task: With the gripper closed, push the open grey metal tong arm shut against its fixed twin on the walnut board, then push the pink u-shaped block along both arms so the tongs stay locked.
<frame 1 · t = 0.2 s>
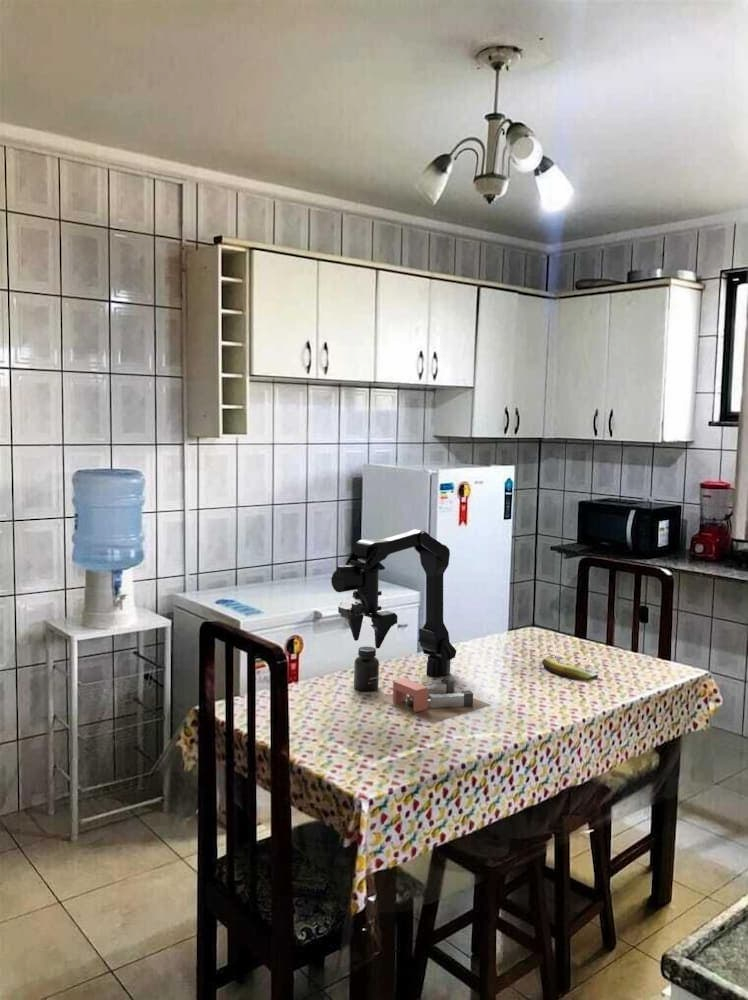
hand: (366, 644, 224), 15 cm above the table, tool pointing down, fingers open, 9 cm apart
supplement bottle: (366, 691, 230), on the table
pink u-shaped block: (410, 694, 216), point 4 cm above the table, slide at 0.0 cm
green-yellow banana: (566, 676, 249), on the table
board: (433, 704, 221), on the table
tongs fixed: (412, 705, 217), resting on board
tongs jaw: (443, 699, 217), point 3 cm above the table, hinge at -30.0°
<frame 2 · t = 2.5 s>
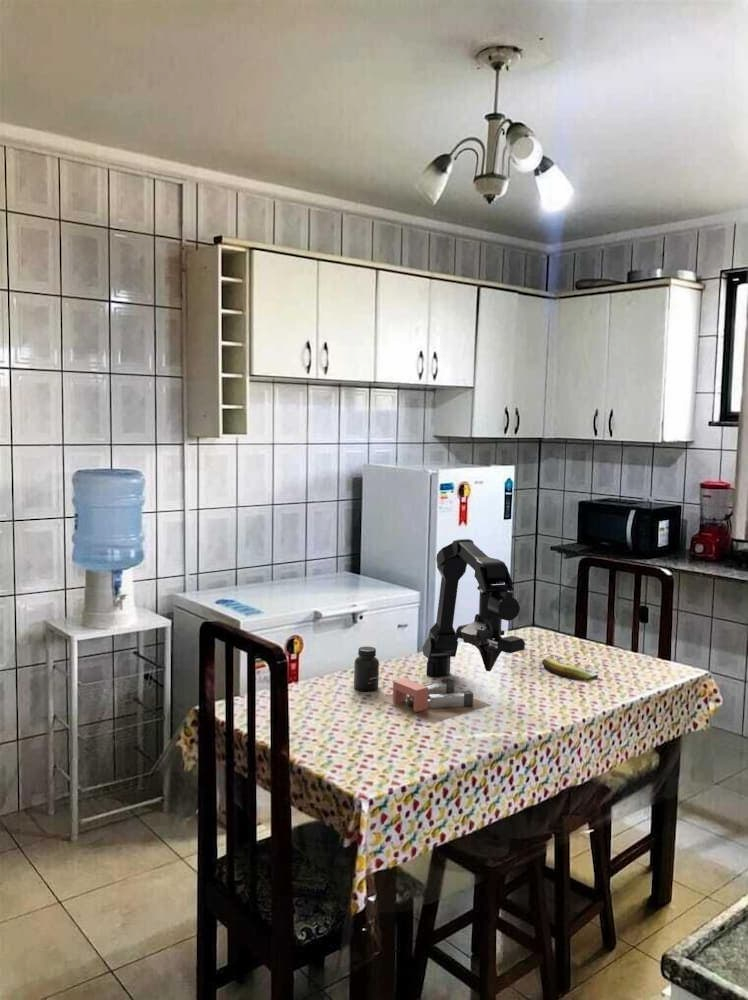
hand: (488, 670, 212), 12 cm above the table, tool pointing down, fingers closed
nothing on the table moved.
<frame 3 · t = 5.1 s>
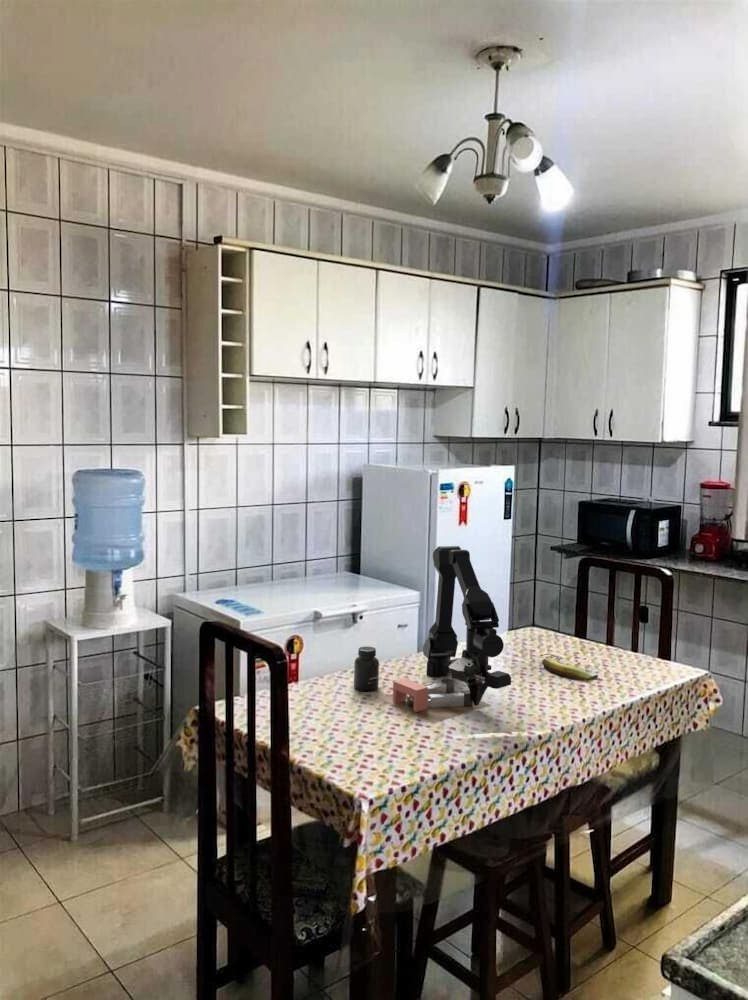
hand: (476, 705, 216), 2 cm above the table, tool pointing down, fingers closed
tongs jaw: (443, 699, 217), point 3 cm above the table, hinge at -29.3°, touching gripper
everything else where it was.
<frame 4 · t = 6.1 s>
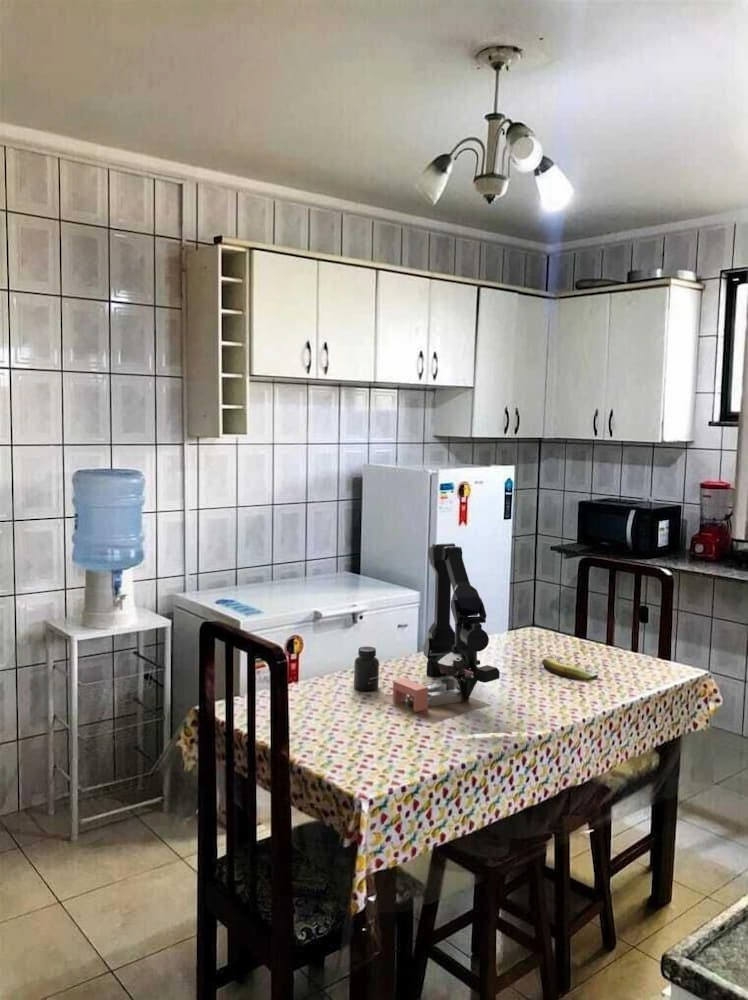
hand: (466, 699, 219), 2 cm above the table, tool pointing down, fingers closed
tongs jaw: (441, 696, 219), point 3 cm above the table, hinge at -15.0°, touching gripper
everything else where it was.
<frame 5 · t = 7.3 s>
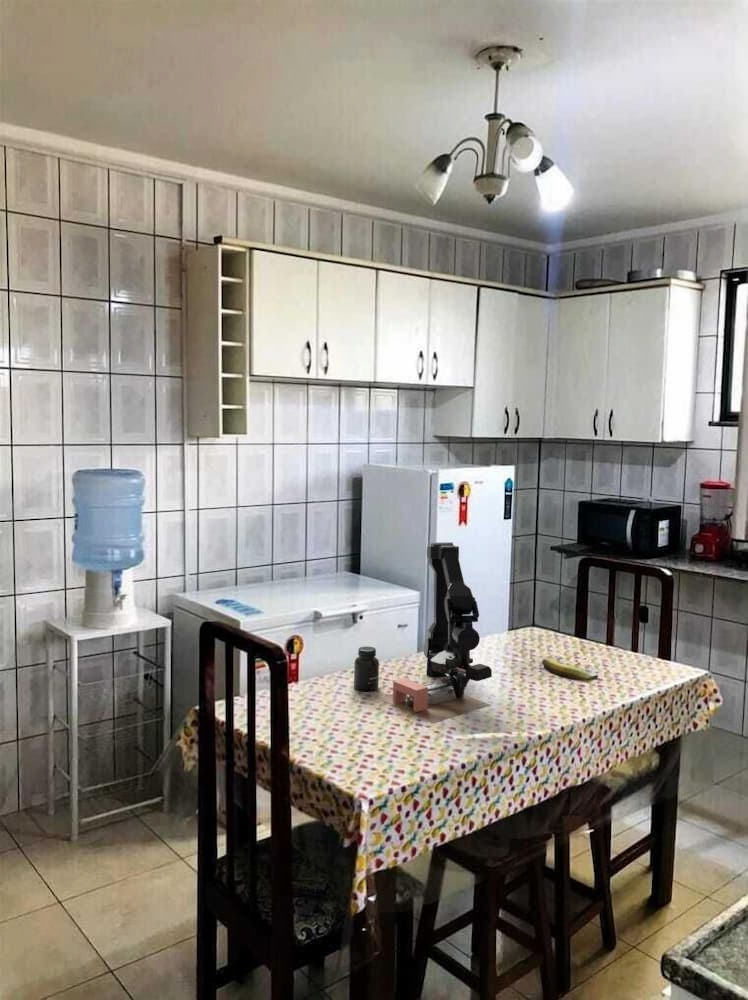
hand: (458, 697, 221), 2 cm above the table, tool pointing down, fingers closed
tongs jaw: (439, 694, 220), point 3 cm above the table, hinge at -3.3°, touching gripper
everything else where it was.
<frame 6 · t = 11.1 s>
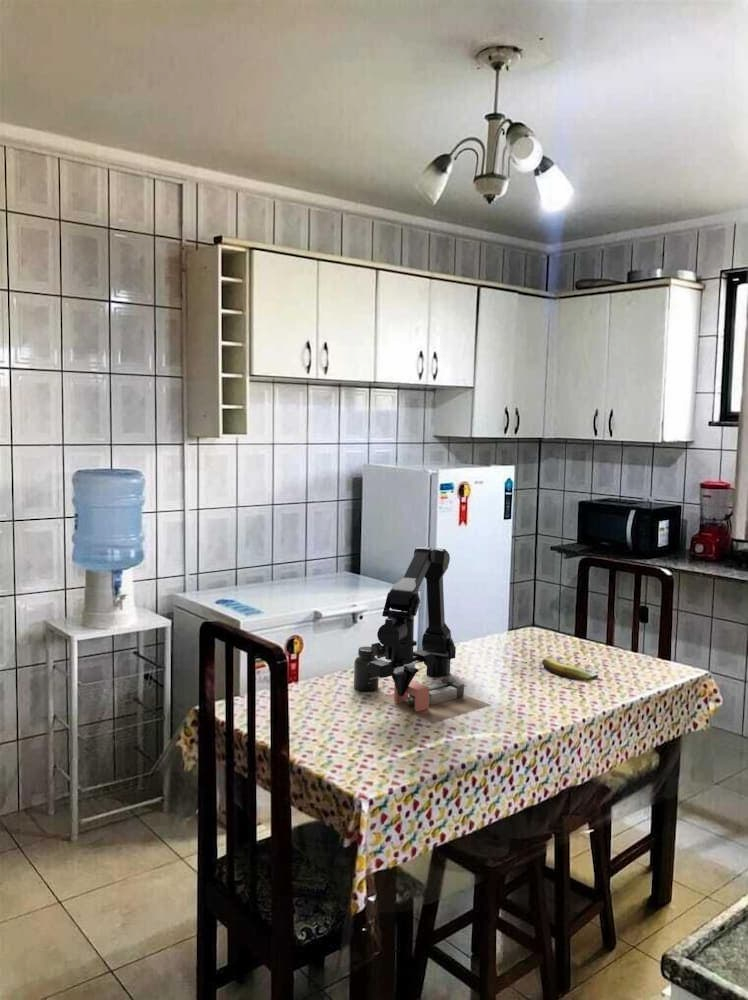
hand: (401, 695, 214), 4 cm above the table, tool pointing down, fingers closed
pink u-shaped block: (411, 694, 217), point 4 cm above the table, slide at 0.5 cm, touching gripper
tongs jaw: (439, 694, 220), point 3 cm above the table, hinge at -3.0°
everything else where it was.
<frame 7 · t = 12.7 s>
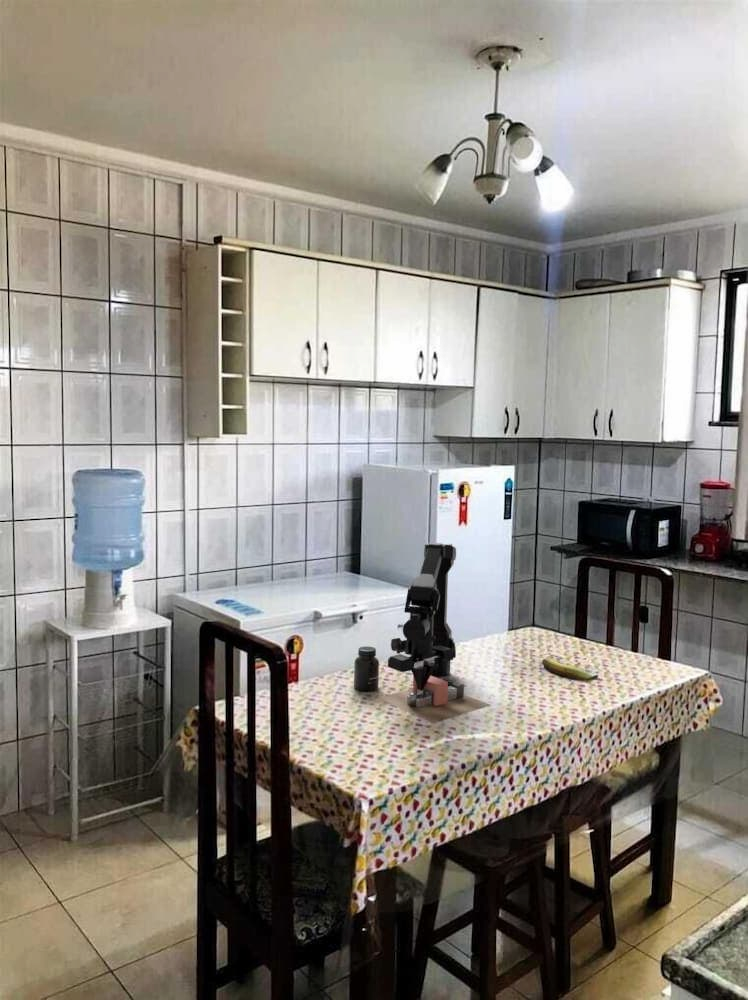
hand: (420, 689, 219), 4 cm above the table, tool pointing down, fingers closed
pink u-shaped block: (430, 689, 221), point 4 cm above the table, slide at 7.1 cm, touching gripper
everything else where it was.
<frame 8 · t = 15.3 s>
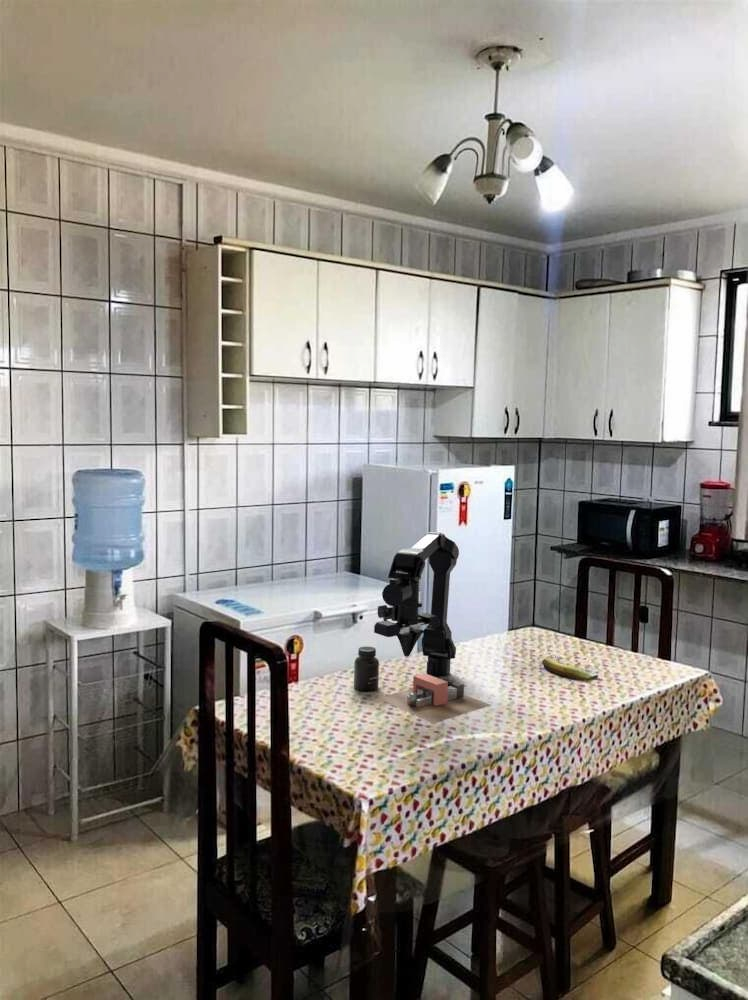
hand: (406, 656, 221), 12 cm above the table, tool pointing down, fingers closed
pink u-shaped block: (430, 689, 221), point 4 cm above the table, slide at 7.1 cm
everything else where it was.
at the end: tongs jaw at -3° (first picture: -30°); pink u-shaped block slide at 7.1 cm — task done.
